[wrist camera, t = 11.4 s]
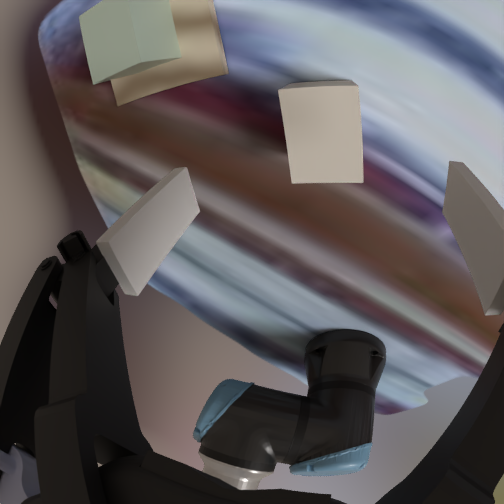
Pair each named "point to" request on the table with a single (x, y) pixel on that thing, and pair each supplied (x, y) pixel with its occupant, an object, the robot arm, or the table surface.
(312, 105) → the cream brick
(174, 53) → the sage brick
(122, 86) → the base plate
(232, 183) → the table surface
